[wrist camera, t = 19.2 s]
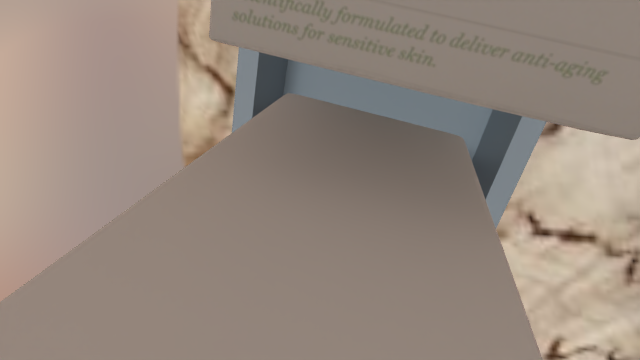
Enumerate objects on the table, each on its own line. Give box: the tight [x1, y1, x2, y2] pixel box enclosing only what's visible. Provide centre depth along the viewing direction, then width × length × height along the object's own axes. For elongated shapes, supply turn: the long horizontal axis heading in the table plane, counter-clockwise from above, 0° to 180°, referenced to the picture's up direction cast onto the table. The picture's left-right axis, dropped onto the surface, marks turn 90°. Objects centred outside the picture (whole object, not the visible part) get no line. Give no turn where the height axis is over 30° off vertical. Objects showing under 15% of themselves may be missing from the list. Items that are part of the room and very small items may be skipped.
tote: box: [232, 47, 546, 228], centre depth 19 cm, size 14×22×6 cm, turn 170°
